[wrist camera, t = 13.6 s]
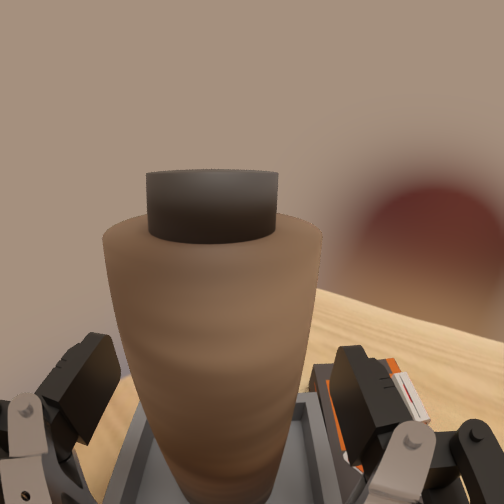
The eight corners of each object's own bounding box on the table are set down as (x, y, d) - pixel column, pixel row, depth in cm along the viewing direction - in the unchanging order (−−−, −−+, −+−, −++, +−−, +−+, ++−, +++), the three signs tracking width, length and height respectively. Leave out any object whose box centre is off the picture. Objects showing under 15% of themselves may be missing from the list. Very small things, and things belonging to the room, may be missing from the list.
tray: (309, 415, 15) (316, 391, 15) (334, 554, 6) (350, 548, 5) (154, 408, 15) (146, 384, 15) (115, 539, 5) (94, 529, 5)
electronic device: (350, 573, 4) (313, 356, 18) (331, 574, 5) (307, 384, 19) (474, 520, 3) (398, 350, 17) (444, 535, 4) (386, 377, 18)
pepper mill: (271, 447, 12) (303, 171, 8) (274, 518, 8) (368, 186, 3) (186, 443, 12) (147, 170, 8) (174, 512, 8) (47, 187, 3)
